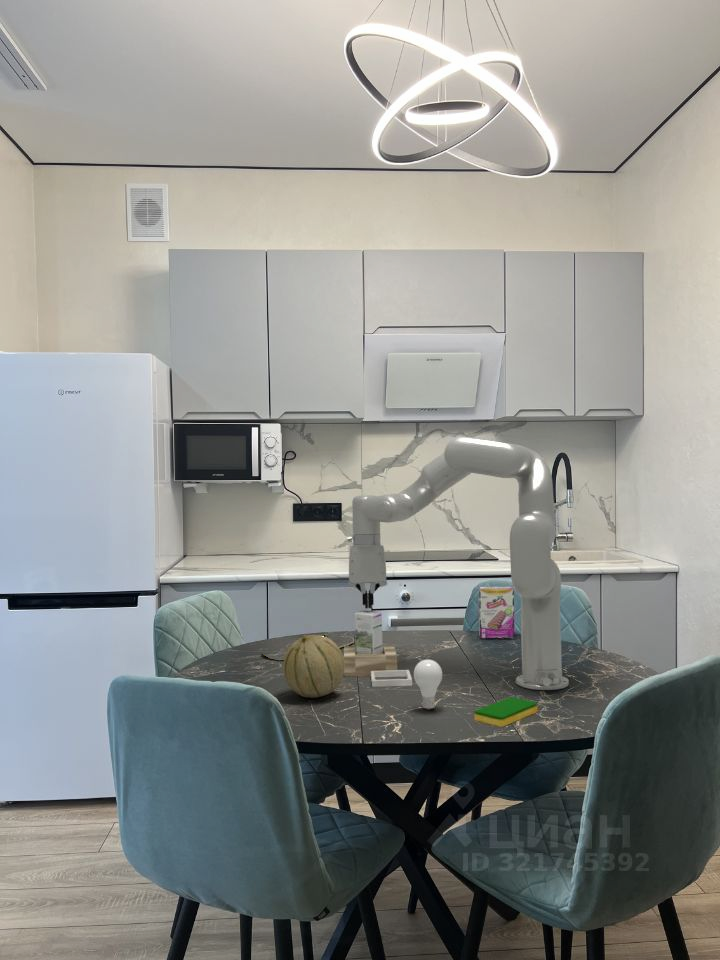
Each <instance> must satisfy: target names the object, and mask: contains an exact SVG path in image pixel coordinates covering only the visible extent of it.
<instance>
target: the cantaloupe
mask: <svg viewBox="0 0 720 960" xmlns="http://www.w3.org/2000/svg"><path fill="white" fill-rule="evenodd" d="M321 635H322V634H310V635H304V636H302V637H301V638H298V639H299V640H297V641H295V642H294V643H293V644H292V645H291V646H290V647H287V648H288V649H287V650H286V653H285V654H284V661H282V672H283V677H284V680H285V682H286V684H287V685H288V686H289V688H290V689H291V690H292V691H293V692H295V693H296V694H298V695H299V696H301V697H305V698H311V699H315V698H321V697H324V696H326V695H329V694H331V693H332V692H334V691H335V690H336V689H337V688H338V687H339V685H340V683H341V682H342V679H343V678H344V668H345V662H344V653H342V651H341V650H342V649H339V646H338V645H337V644H336V642H334V640H333V639H329V638H327V637H324V636H321Z"/></svg>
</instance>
